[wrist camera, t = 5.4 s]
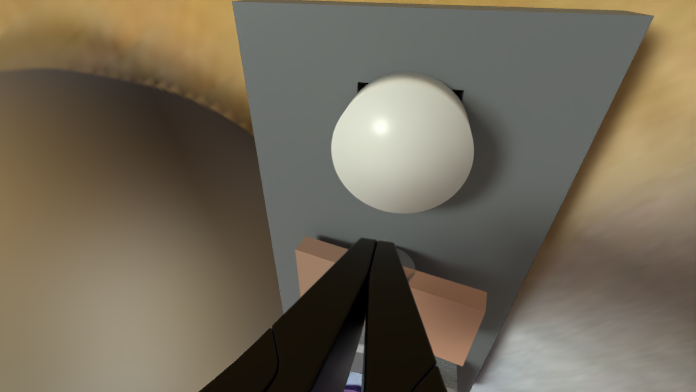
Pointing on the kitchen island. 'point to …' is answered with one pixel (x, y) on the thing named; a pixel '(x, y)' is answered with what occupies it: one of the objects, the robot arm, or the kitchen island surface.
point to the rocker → (428, 291)
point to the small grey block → (448, 373)
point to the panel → (483, 114)
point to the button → (403, 143)
